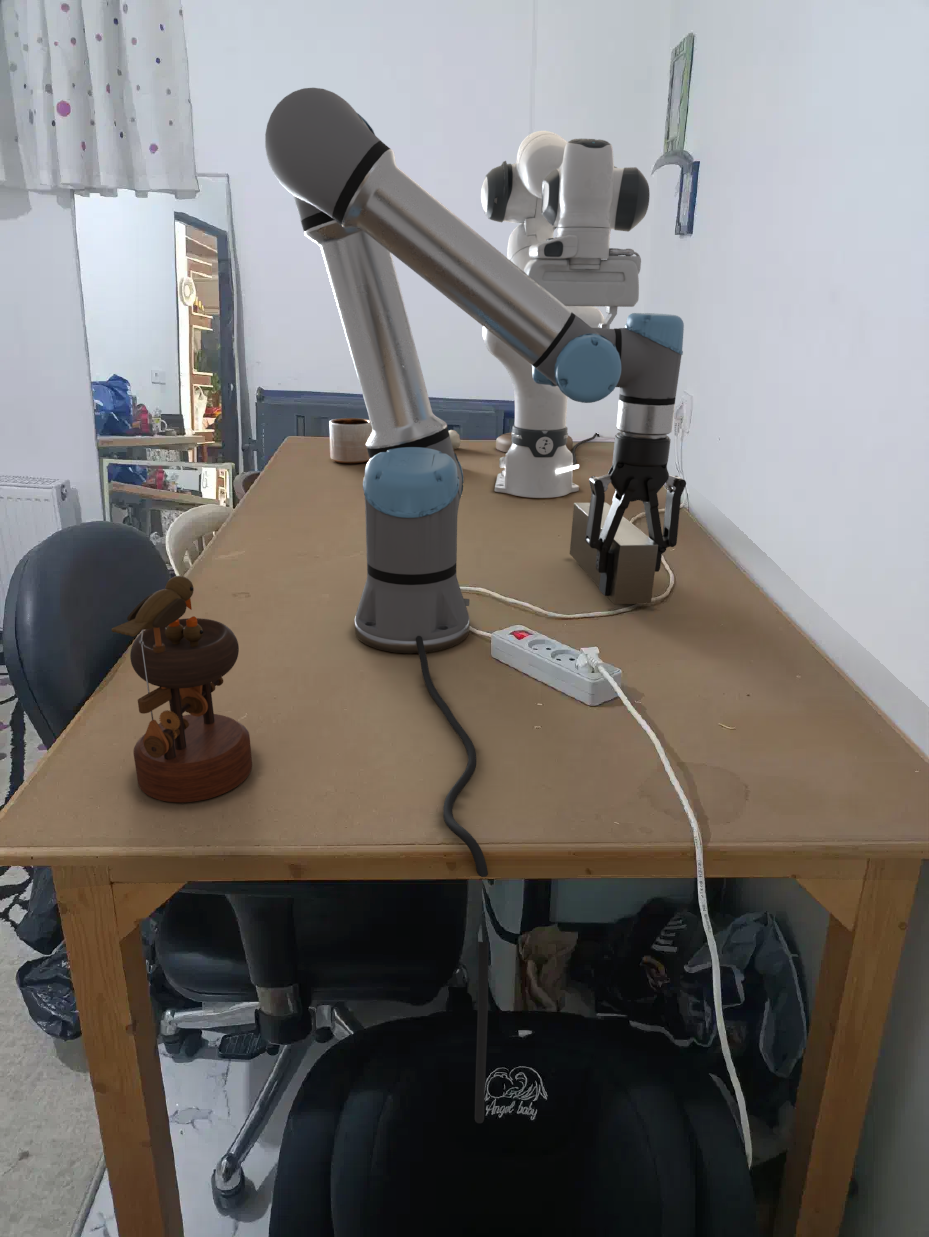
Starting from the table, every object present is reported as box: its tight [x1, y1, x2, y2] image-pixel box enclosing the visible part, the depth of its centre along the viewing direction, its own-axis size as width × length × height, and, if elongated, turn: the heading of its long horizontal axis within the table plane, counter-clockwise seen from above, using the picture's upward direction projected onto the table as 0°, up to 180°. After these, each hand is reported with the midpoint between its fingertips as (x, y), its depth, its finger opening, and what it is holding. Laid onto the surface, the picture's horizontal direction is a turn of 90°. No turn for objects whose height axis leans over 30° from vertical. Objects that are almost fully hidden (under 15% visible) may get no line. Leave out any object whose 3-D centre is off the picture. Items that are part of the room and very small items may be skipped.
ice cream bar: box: [495, 431, 574, 453], centre depth 224 cm, size 21×28×4 cm
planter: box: [328, 417, 373, 464], centre depth 212 cm, size 11×11×10 cm
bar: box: [569, 502, 658, 605], centre depth 130 cm, size 23×6×9 cm, turn 9°
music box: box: [111, 575, 253, 803], centre depth 78 cm, size 15×11×20 cm
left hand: (625, 592), depth 124 cm, fingers closed on bar, 6 cm apart
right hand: (577, 334), depth 147 cm, fingers open, 8 cm apart
